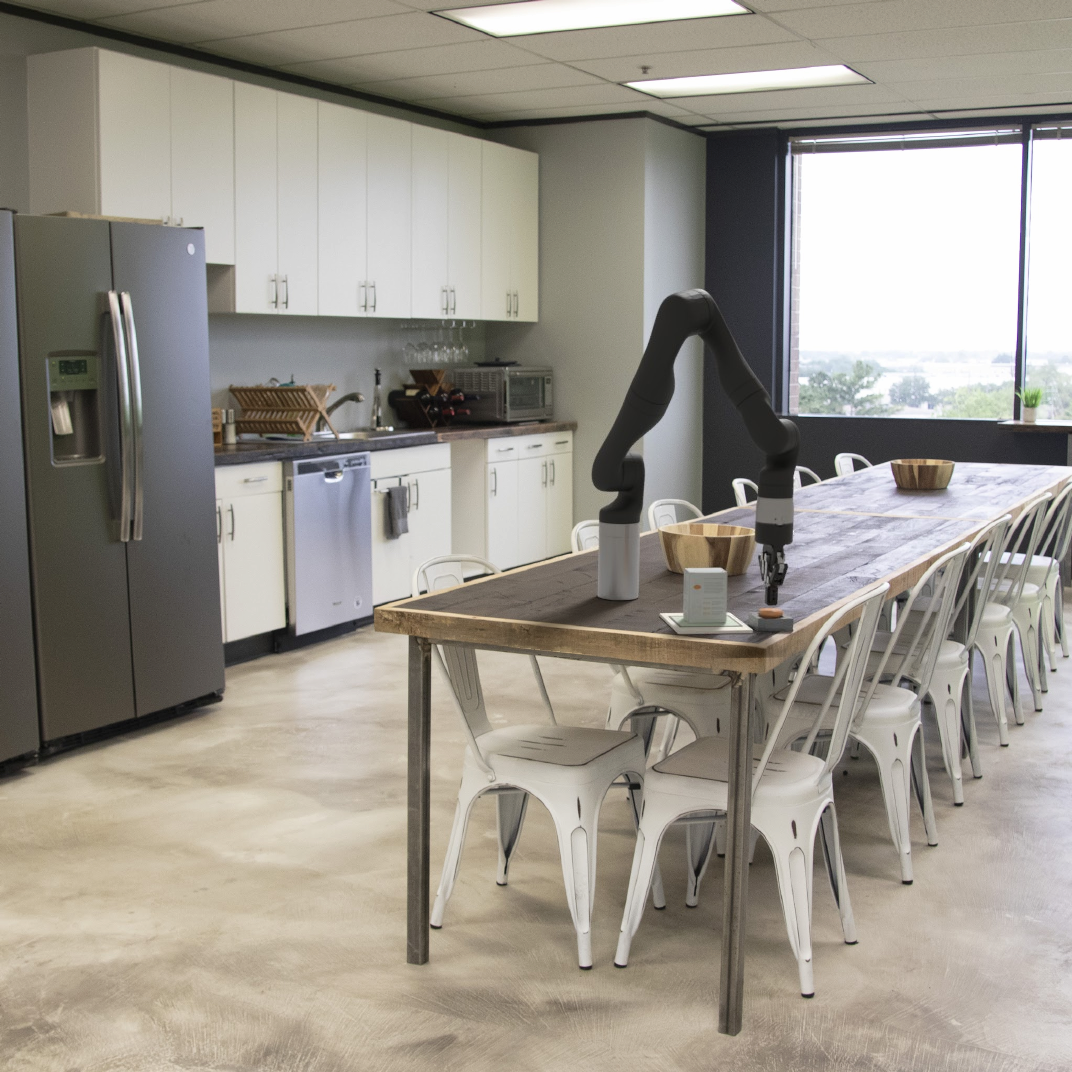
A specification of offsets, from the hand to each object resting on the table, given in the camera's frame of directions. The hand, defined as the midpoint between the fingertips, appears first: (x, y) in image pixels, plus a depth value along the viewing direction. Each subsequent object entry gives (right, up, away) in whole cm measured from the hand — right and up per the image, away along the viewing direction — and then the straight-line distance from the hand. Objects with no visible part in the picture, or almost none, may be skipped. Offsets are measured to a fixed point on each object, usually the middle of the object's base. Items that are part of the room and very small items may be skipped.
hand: (771, 604), depth 256 cm
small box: (-13, -4, +3) cm, 14 cm away
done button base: (0, -5, 0) cm, 5 cm away
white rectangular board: (-13, -4, +3) cm, 14 cm away
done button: (0, -4, 0) cm, 4 cm away
